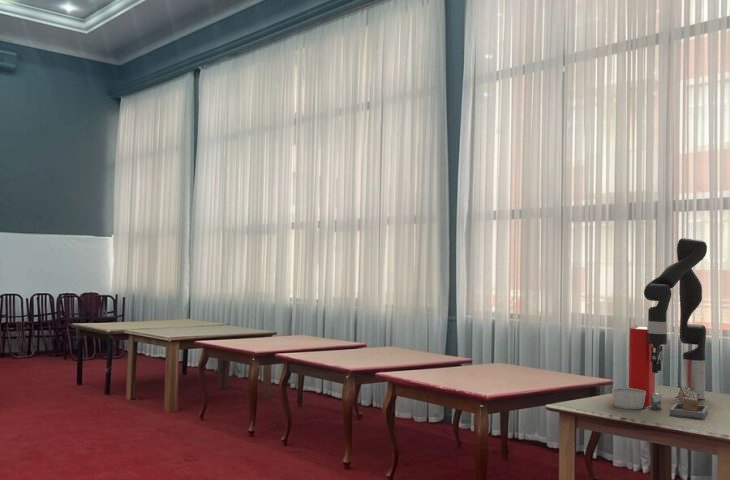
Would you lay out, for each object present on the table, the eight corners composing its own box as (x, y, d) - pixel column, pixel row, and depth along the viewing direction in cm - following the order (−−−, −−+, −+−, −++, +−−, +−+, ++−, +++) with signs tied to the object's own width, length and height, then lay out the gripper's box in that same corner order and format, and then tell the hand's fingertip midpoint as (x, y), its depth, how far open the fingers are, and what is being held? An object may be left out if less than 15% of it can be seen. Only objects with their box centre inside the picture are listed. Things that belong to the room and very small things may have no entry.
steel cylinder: (651, 407, 296) (651, 392, 296) (661, 408, 294) (662, 393, 294) (649, 408, 292) (650, 393, 292) (660, 409, 290) (660, 395, 290)
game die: (691, 415, 301) (703, 398, 295) (671, 406, 303) (682, 390, 297) (691, 401, 308) (702, 385, 303) (672, 393, 310) (682, 377, 304)
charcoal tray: (675, 408, 294) (676, 402, 294) (708, 412, 288) (708, 406, 288) (669, 415, 278) (669, 409, 278) (703, 419, 272) (703, 413, 272)
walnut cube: (684, 409, 289) (684, 397, 289) (697, 411, 287) (697, 398, 287) (682, 411, 285) (683, 398, 285) (696, 412, 282) (696, 400, 283)
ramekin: (633, 411, 285) (633, 394, 286) (605, 405, 296) (605, 389, 296) (652, 408, 293) (652, 391, 293) (624, 403, 304) (624, 386, 304)
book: (635, 395, 326) (636, 324, 327) (654, 397, 322) (655, 326, 323) (628, 404, 301) (629, 328, 303) (648, 406, 298) (649, 329, 299)
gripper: (664, 334, 286) (663, 374, 285) (669, 332, 298) (668, 371, 298) (644, 332, 290) (644, 372, 289) (650, 330, 302) (649, 369, 301)
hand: (656, 371), depth 293 cm, fingers open, 8 cm apart
